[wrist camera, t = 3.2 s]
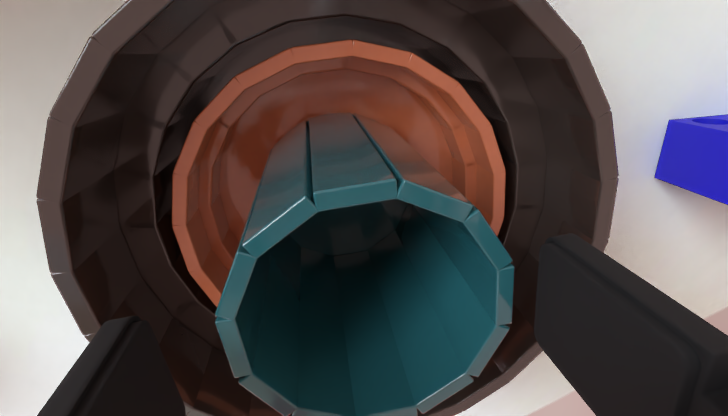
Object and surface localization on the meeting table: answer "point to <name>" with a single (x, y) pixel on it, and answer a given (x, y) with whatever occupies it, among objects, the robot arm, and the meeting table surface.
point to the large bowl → (240, 52)
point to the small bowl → (310, 99)
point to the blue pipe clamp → (696, 156)
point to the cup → (361, 278)
